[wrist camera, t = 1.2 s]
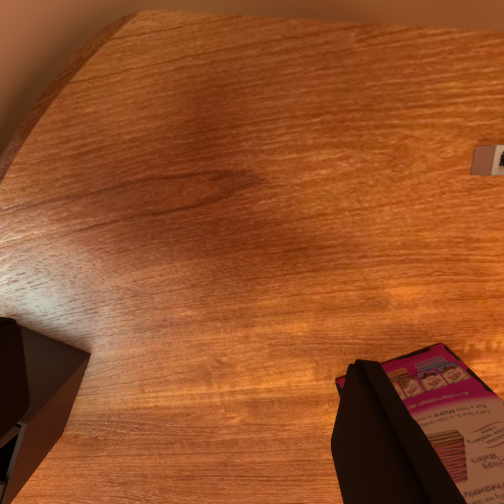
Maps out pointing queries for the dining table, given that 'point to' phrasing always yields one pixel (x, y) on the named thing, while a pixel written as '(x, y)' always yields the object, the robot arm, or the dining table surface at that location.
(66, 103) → the dining table surface
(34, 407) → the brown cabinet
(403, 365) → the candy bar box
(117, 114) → the dining table surface
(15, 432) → the flap
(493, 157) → the cube with dark pebbles
